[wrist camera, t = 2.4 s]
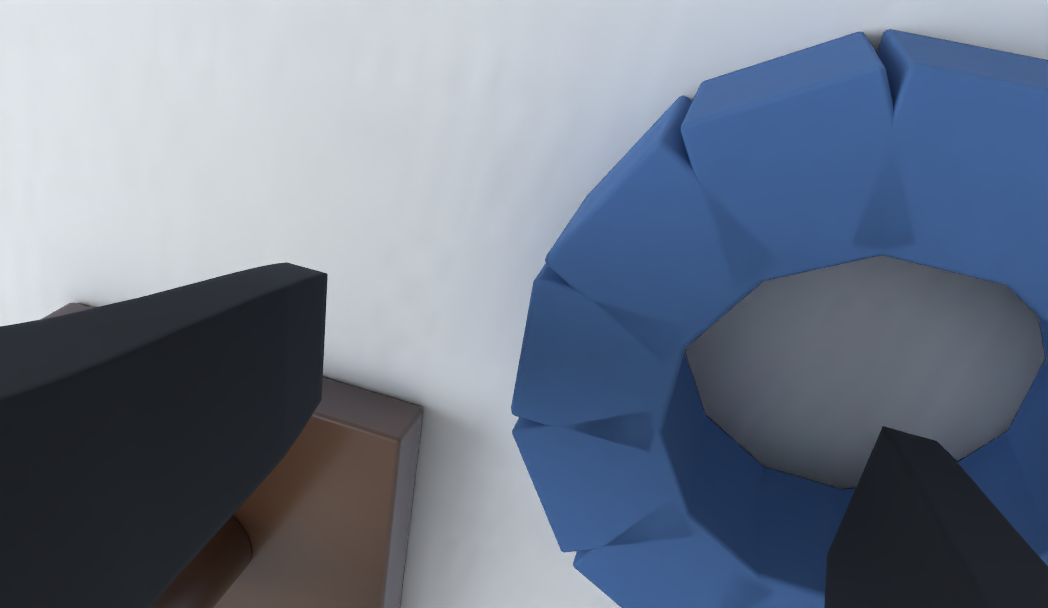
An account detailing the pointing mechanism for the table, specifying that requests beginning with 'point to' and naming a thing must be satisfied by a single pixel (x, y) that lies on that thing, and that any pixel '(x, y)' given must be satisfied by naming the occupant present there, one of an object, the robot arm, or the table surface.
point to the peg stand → (317, 514)
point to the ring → (738, 268)
